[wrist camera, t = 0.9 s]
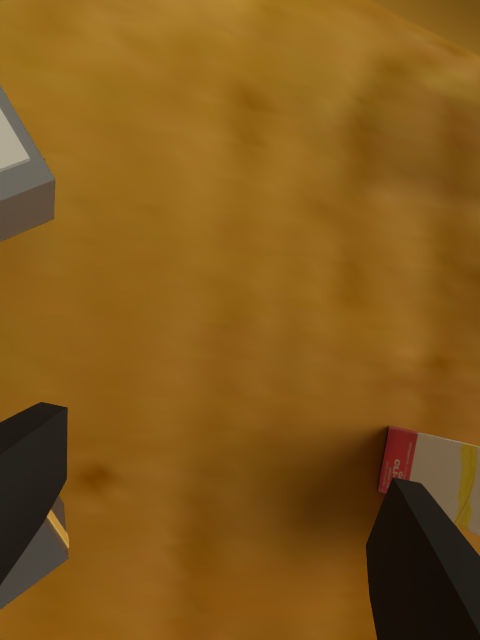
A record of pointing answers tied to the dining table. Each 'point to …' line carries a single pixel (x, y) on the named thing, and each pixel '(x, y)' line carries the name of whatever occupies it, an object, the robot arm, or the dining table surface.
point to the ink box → (437, 472)
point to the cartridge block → (38, 555)
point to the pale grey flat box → (21, 177)
